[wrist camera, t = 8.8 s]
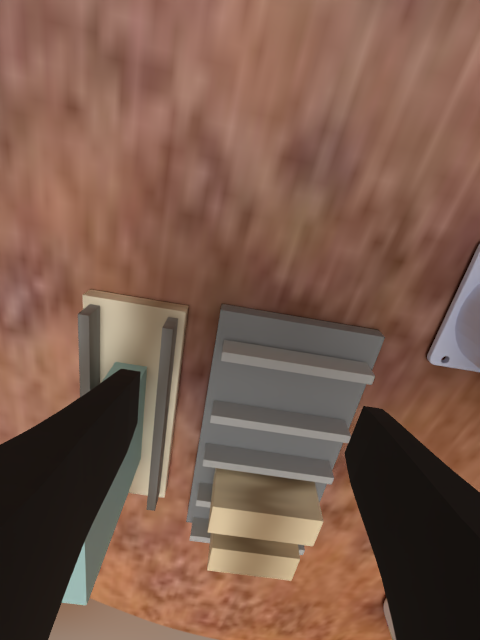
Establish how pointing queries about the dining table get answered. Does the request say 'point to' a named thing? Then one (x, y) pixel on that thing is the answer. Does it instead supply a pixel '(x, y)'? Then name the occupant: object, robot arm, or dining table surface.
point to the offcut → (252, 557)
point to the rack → (279, 400)
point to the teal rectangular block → (107, 507)
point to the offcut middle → (264, 507)
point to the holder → (144, 350)
